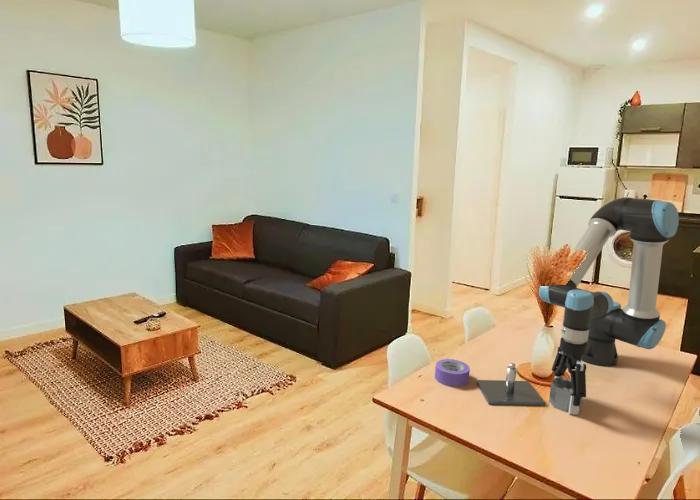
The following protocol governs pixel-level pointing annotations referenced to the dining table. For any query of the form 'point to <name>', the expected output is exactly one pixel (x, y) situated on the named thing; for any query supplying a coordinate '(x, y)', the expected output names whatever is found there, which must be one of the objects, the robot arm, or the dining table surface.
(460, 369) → the tape roll
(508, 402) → the shaft stand
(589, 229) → the robot arm
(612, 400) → the dining table surface
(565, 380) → the ring
